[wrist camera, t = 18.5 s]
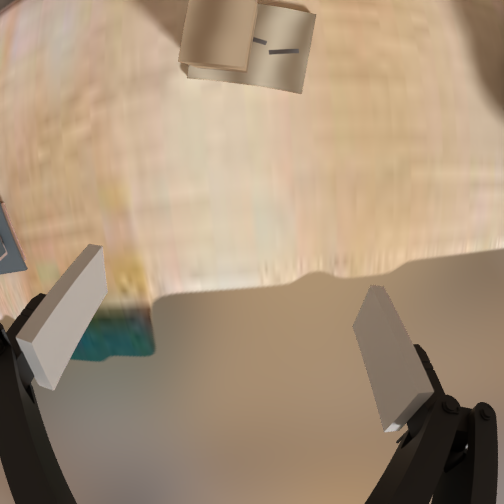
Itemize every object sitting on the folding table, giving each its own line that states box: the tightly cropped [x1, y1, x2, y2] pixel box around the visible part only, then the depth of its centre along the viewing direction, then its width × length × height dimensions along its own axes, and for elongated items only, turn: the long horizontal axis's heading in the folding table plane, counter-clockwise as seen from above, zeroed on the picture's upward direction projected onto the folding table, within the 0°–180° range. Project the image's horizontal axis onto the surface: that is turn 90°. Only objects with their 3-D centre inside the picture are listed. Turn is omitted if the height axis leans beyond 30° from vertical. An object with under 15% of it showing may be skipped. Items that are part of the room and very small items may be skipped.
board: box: [187, 4, 316, 94], centre depth 31 cm, size 14×11×2 cm
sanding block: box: [178, 0, 258, 73], centre depth 26 cm, size 6×8×10 cm
